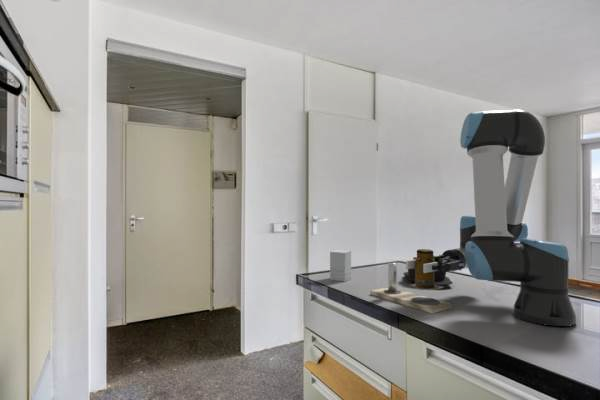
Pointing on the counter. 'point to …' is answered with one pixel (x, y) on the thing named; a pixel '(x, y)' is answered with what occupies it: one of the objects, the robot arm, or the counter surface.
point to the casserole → (439, 277)
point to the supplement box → (340, 265)
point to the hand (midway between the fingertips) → (415, 266)
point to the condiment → (422, 278)
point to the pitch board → (412, 300)
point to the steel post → (392, 277)
